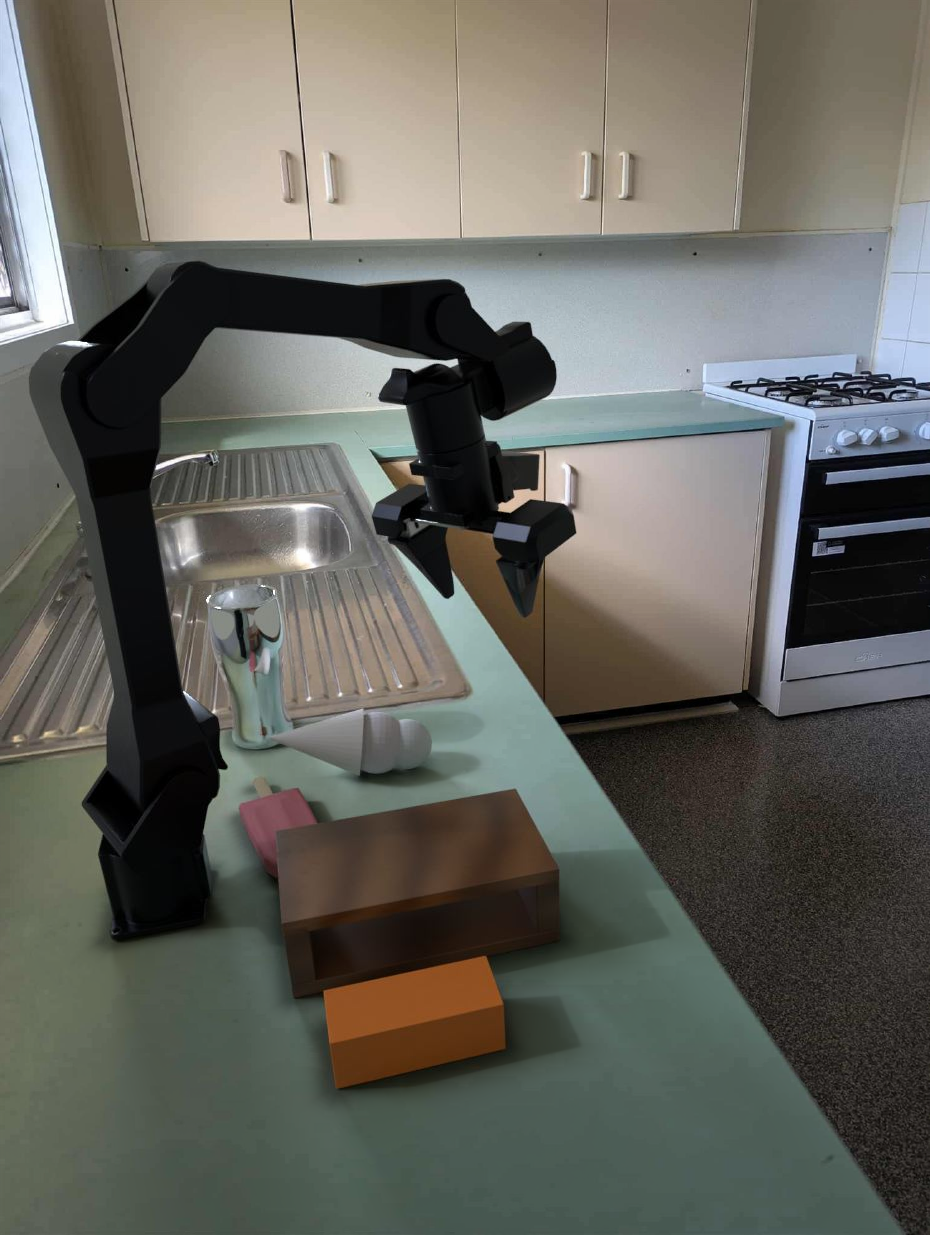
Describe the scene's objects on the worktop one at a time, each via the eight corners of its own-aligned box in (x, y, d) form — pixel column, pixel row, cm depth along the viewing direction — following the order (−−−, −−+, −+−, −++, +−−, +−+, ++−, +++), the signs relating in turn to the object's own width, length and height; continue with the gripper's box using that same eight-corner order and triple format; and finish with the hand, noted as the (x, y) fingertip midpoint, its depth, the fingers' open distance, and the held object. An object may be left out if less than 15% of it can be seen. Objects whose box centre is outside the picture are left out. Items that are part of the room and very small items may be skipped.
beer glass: (214, 746, 87) (188, 605, 81) (253, 714, 93) (232, 580, 87) (274, 756, 84) (252, 612, 78) (311, 723, 90) (293, 586, 84)
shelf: (293, 998, 56) (281, 923, 54) (285, 898, 65) (275, 830, 63) (560, 941, 59) (559, 868, 57) (517, 853, 69) (515, 788, 66)
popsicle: (285, 763, 80) (337, 851, 67) (287, 778, 80) (339, 868, 68) (227, 779, 78) (268, 873, 65) (229, 794, 78) (271, 890, 66)
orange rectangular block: (336, 1089, 49) (329, 1043, 48) (329, 1034, 53) (323, 990, 52) (505, 1049, 51) (504, 1004, 50) (488, 998, 55) (486, 955, 54)
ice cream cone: (265, 776, 81) (426, 782, 83) (261, 766, 75) (435, 773, 77) (270, 711, 82) (428, 718, 85) (267, 696, 77) (436, 705, 79)
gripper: (601, 410, 70) (623, 581, 77) (433, 403, 82) (467, 551, 89) (516, 464, 63) (550, 644, 71) (348, 447, 75) (392, 603, 83)
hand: (487, 605), depth 79 cm, fingers open, 9 cm apart
